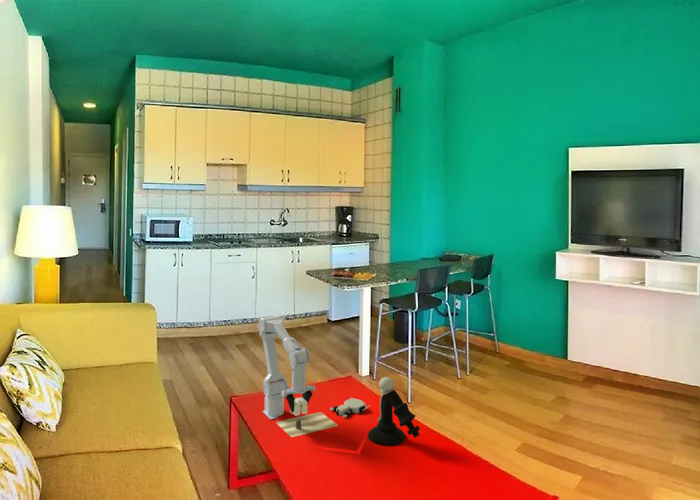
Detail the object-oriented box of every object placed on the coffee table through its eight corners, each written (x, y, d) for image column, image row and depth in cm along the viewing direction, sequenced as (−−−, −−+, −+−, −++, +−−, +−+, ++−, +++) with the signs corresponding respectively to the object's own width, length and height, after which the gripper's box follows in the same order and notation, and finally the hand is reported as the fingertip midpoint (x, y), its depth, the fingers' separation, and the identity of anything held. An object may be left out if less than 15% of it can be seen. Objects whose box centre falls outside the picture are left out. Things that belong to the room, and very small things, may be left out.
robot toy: (345, 424, 228) (371, 413, 237) (345, 414, 227) (370, 403, 237) (328, 414, 237) (353, 404, 247) (327, 405, 237) (353, 395, 246)
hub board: (275, 424, 224) (275, 414, 223) (320, 414, 235) (320, 404, 235) (291, 439, 210) (291, 428, 210) (338, 427, 222) (338, 417, 221)
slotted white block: (289, 411, 219) (289, 399, 218) (301, 408, 221) (301, 396, 221) (295, 415, 214) (295, 403, 213) (307, 413, 217) (307, 401, 216)
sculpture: (384, 425, 225) (386, 369, 222) (429, 444, 209) (432, 383, 206) (360, 436, 214) (361, 377, 211) (406, 457, 198) (408, 393, 195)
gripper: (286, 384, 209) (286, 417, 210) (318, 378, 217) (318, 410, 218) (279, 378, 215) (279, 410, 216) (311, 373, 223) (310, 404, 224)
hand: (298, 410), depth 218 cm, fingers closed on slotted white block, 5 cm apart
